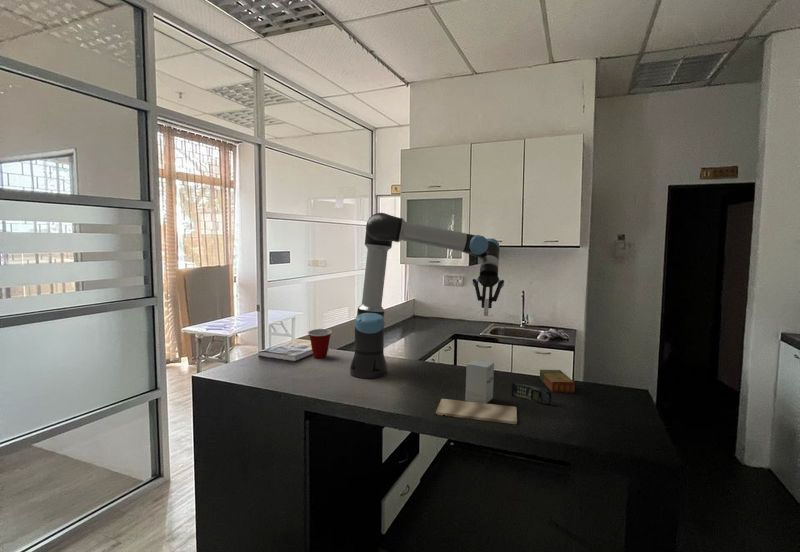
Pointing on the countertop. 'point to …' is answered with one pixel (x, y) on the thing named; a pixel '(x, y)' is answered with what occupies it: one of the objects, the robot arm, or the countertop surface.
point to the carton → (557, 381)
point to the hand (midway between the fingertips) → (485, 313)
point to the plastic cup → (320, 342)
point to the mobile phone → (532, 393)
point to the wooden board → (477, 411)
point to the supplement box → (479, 381)
